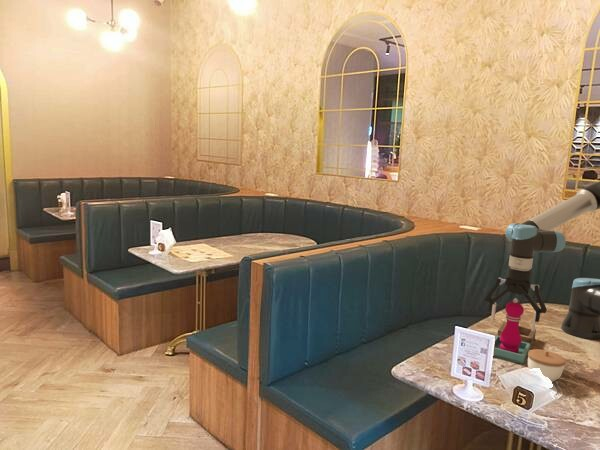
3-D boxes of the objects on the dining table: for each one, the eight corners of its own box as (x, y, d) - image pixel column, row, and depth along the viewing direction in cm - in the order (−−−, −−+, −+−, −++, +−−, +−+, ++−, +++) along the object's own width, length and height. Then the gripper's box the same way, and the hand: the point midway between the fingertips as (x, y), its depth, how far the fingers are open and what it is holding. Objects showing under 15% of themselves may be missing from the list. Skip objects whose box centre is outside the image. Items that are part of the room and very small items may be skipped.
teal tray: (529, 351, 174) (530, 343, 174) (523, 364, 163) (524, 356, 162) (495, 342, 181) (496, 335, 180) (487, 354, 169) (488, 346, 169)
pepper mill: (521, 356, 167) (529, 302, 164) (500, 353, 169) (507, 300, 165) (517, 348, 174) (524, 296, 171) (496, 345, 176) (503, 294, 172)
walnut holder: (534, 338, 187) (536, 329, 186) (530, 348, 177) (531, 338, 176) (502, 331, 193) (504, 321, 192) (496, 340, 183) (498, 330, 182)
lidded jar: (519, 376, 154) (523, 349, 152) (533, 367, 160) (537, 341, 159) (553, 390, 146) (557, 361, 144) (567, 380, 152) (571, 353, 151)
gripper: (480, 263, 170) (474, 319, 173) (558, 277, 157) (549, 337, 160) (485, 260, 176) (479, 314, 180) (560, 272, 163) (551, 330, 166)
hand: (512, 325), depth 170 cm, fingers open, 13 cm apart
